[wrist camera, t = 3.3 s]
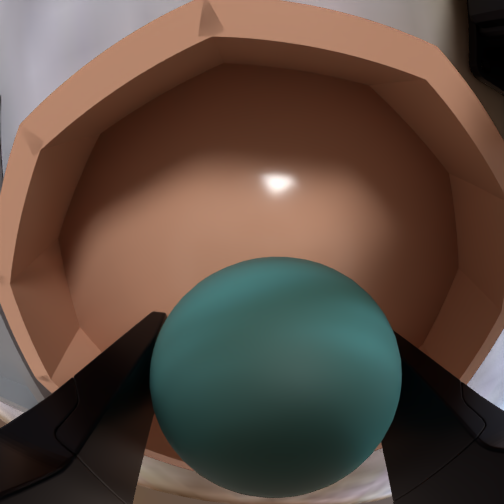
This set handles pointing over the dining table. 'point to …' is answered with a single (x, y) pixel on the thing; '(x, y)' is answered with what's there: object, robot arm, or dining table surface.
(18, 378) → the tray
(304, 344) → the ball
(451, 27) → the dining table surface
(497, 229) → the bowl
